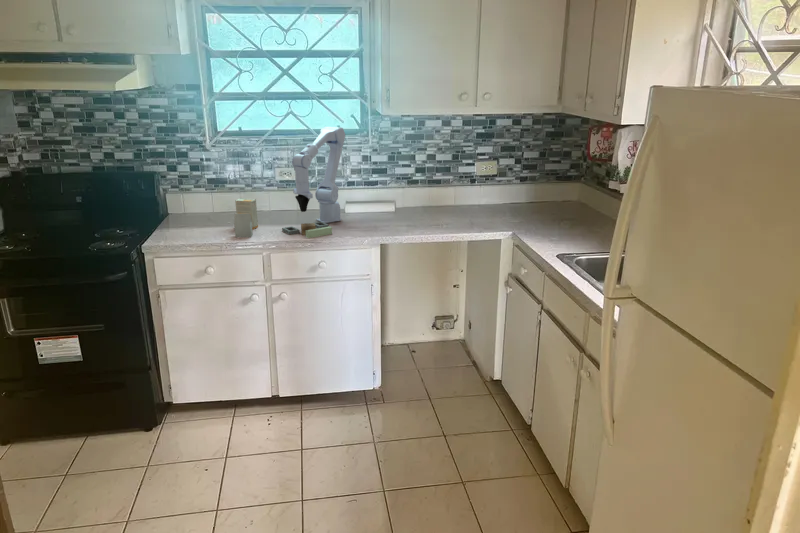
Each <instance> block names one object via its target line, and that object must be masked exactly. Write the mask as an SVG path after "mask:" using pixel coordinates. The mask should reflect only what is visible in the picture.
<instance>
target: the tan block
mask: <svg viewBox="0 0 800 533" xmlns="http://www.w3.org/2000/svg"><path fill="white" fill-rule="evenodd" d="M300 226H301V227H300V228H301V229H300V230H301V231H300V233H301V236H306V230H312V229H317V228H316V226H315V222H311V223H309V222H307V223H301V224H300Z"/></svg>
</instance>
